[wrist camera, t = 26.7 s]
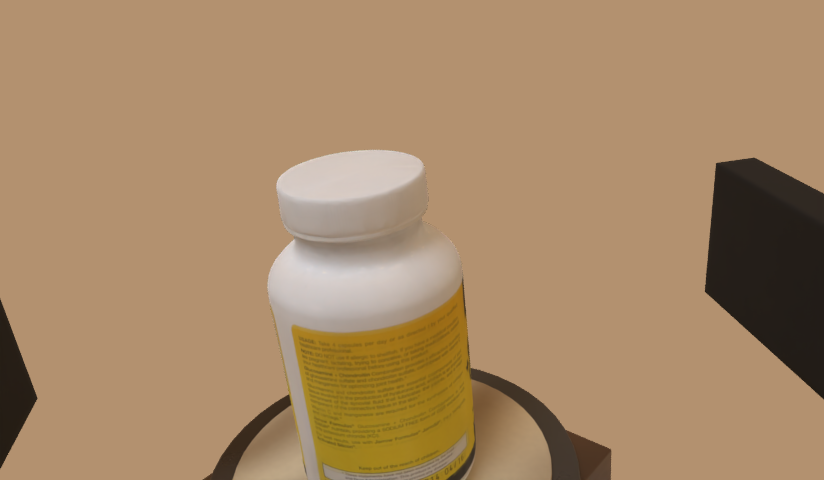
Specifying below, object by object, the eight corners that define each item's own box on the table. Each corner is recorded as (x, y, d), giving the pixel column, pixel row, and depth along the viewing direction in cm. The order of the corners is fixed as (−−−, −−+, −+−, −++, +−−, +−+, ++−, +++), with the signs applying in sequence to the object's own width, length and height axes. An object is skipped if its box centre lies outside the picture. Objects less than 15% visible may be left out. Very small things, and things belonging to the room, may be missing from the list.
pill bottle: (504, 499, 25) (486, 186, 20) (320, 552, 24) (255, 230, 19) (446, 393, 31) (421, 130, 26) (295, 432, 30) (240, 160, 25)
